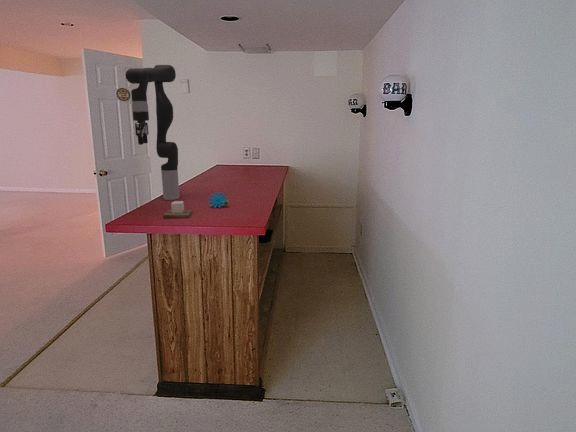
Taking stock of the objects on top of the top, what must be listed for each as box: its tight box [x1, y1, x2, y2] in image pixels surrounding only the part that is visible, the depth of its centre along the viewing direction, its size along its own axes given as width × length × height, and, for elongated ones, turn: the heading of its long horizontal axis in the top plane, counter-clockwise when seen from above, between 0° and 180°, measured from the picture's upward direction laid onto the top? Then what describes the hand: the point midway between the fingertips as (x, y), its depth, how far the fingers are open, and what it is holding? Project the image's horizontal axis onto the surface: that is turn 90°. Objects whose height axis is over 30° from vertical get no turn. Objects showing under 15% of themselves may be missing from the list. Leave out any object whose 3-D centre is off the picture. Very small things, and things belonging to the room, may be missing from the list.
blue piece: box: [208, 191, 230, 209], centre depth 221 cm, size 11×6×10 cm
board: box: [162, 208, 193, 219], centre depth 202 cm, size 12×12×5 cm
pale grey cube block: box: [170, 200, 185, 214], centre depth 202 cm, size 5×5×5 cm
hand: (143, 143), depth 207 cm, fingers open, 8 cm apart
